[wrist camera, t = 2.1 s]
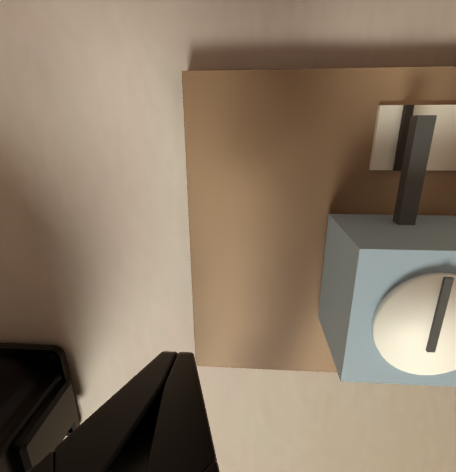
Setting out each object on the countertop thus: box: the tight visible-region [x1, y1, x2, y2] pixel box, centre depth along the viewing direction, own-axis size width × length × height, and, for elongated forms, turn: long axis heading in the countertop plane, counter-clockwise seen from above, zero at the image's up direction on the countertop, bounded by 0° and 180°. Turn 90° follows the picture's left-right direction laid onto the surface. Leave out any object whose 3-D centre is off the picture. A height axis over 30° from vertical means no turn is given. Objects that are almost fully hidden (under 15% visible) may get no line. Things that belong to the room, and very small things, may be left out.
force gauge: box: [318, 115, 456, 387], centre depth 11 cm, size 7×9×4 cm
